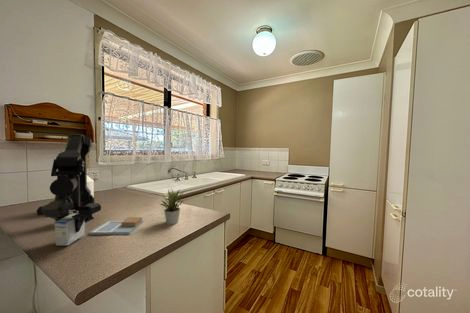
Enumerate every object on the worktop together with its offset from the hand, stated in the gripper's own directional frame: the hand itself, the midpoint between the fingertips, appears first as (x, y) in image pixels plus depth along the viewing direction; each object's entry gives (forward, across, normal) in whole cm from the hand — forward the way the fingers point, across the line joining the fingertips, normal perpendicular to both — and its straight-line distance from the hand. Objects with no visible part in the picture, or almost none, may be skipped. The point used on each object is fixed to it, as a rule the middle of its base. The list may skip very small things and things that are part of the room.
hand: (70, 231), depth 69 cm
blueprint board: (+4, +10, +12) cm, 16 cm away
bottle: (+4, -25, +37) cm, 45 cm away
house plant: (+4, +33, +18) cm, 38 cm away
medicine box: (+3, 0, 0) cm, 3 cm away
